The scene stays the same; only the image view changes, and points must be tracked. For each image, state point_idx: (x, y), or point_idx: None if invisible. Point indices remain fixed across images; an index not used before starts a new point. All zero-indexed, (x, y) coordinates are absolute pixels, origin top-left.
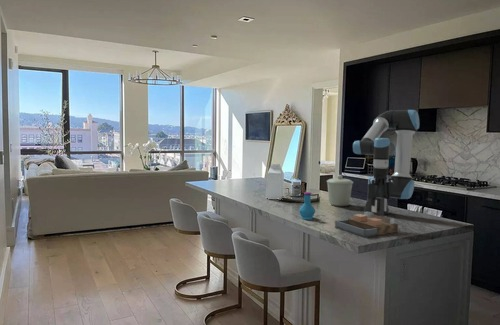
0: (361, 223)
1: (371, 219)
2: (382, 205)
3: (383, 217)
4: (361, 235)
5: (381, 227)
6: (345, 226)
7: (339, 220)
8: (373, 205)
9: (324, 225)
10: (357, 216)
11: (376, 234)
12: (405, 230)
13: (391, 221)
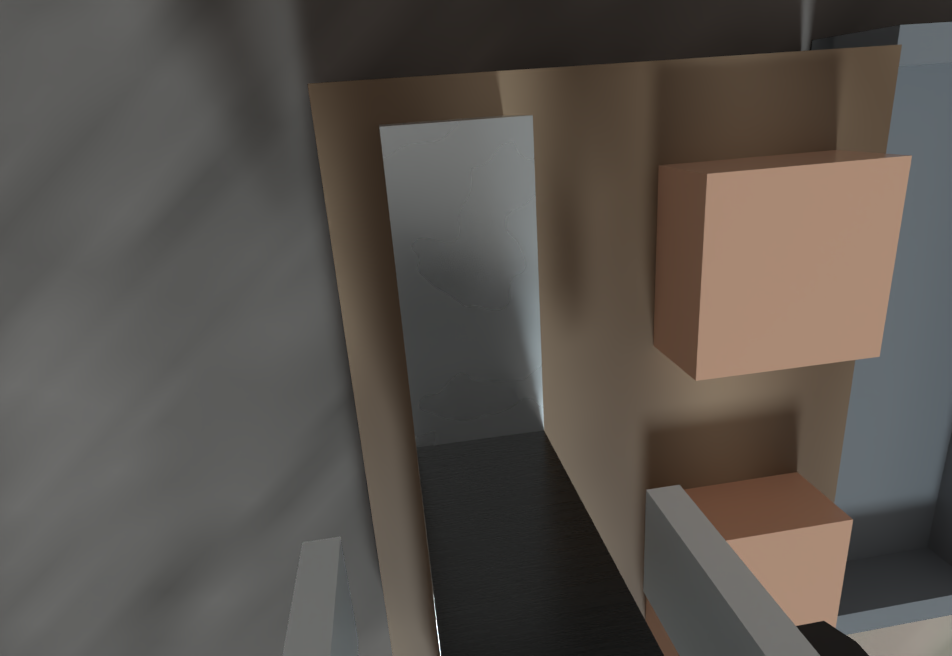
0: (840, 394)
1: (874, 280)
2: (521, 615)
3: (536, 324)
4: None
5: (773, 53)
6: None
7: (931, 618)
8: (835, 630)
9: (939, 643)
10: (836, 571)
11: (831, 38)
12: (96, 116)
13: (479, 118)
